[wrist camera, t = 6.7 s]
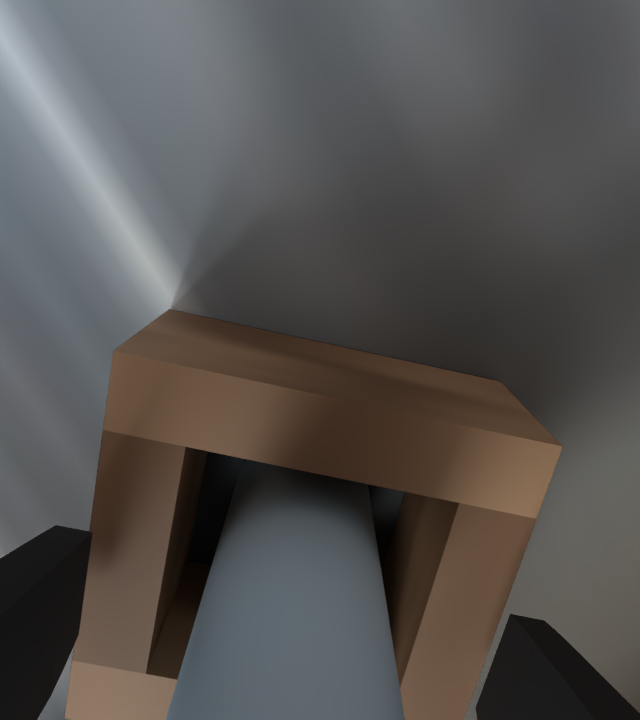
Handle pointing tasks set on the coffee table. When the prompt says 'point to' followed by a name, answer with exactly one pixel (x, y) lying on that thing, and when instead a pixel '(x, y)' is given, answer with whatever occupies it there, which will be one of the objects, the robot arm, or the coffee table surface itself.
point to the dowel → (292, 608)
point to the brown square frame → (311, 454)
